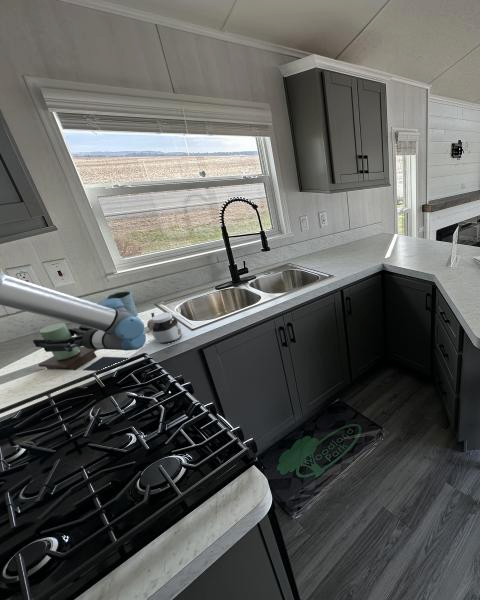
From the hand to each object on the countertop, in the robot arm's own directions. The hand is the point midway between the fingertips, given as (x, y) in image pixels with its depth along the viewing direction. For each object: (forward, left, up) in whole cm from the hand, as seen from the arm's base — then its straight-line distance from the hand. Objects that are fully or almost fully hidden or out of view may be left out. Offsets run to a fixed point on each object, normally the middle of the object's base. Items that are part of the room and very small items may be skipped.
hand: (46, 337), depth 123 cm
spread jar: (+19, -30, -12) cm, 38 cm away
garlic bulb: (+28, -18, -12) cm, 35 cm away
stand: (0, -5, -12) cm, 13 cm away
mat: (-2, -20, -12) cm, 23 cm away
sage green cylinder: (0, -5, -8) cm, 9 cm away
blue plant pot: (+38, +7, -12) cm, 41 cm away
